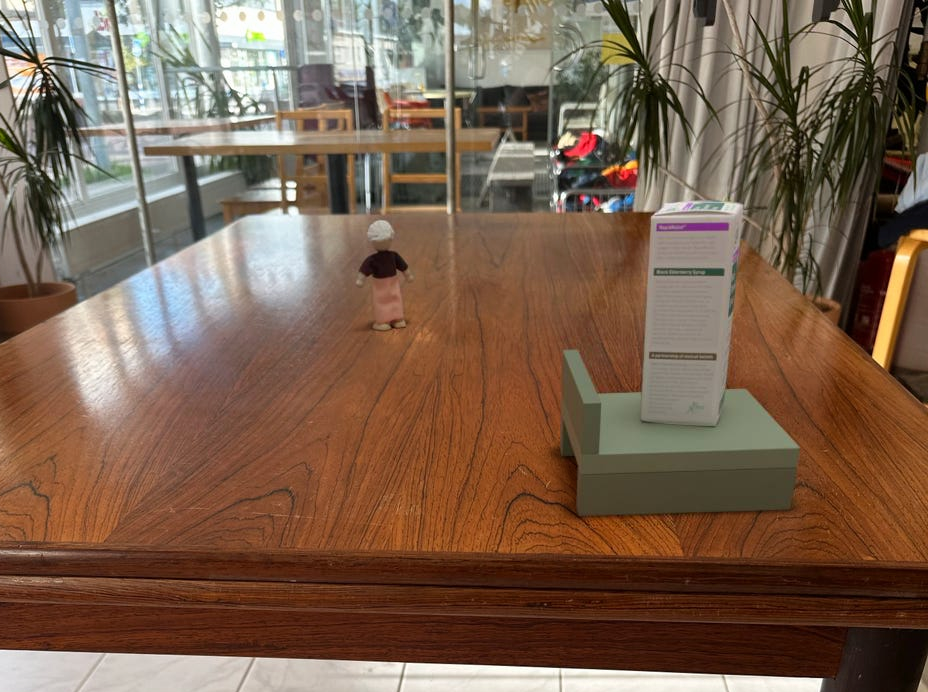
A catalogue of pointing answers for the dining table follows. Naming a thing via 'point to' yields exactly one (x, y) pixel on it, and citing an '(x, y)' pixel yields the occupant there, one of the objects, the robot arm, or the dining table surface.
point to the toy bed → (671, 454)
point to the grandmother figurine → (384, 277)
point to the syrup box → (689, 311)
